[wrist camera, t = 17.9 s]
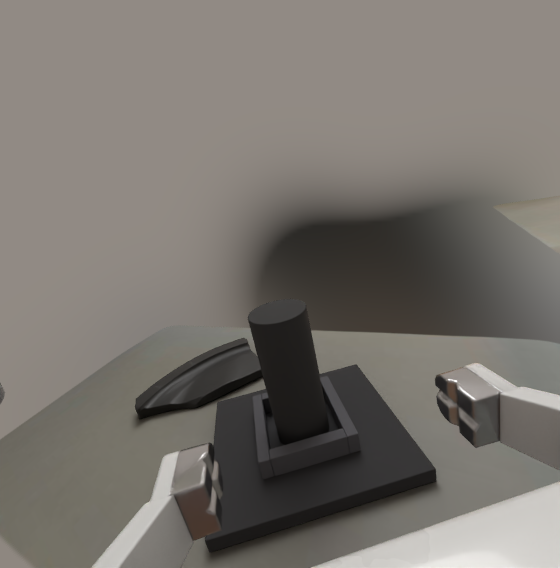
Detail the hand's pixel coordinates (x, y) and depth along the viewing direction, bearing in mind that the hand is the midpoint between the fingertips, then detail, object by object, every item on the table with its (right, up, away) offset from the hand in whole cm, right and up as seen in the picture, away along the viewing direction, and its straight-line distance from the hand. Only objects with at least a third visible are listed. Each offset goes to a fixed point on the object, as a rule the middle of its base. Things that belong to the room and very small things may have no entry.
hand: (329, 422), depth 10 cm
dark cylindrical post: (0, -6, +12) cm, 14 cm away
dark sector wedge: (-10, -6, +24) cm, 26 cm away
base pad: (0, -7, +13) cm, 15 cm away
